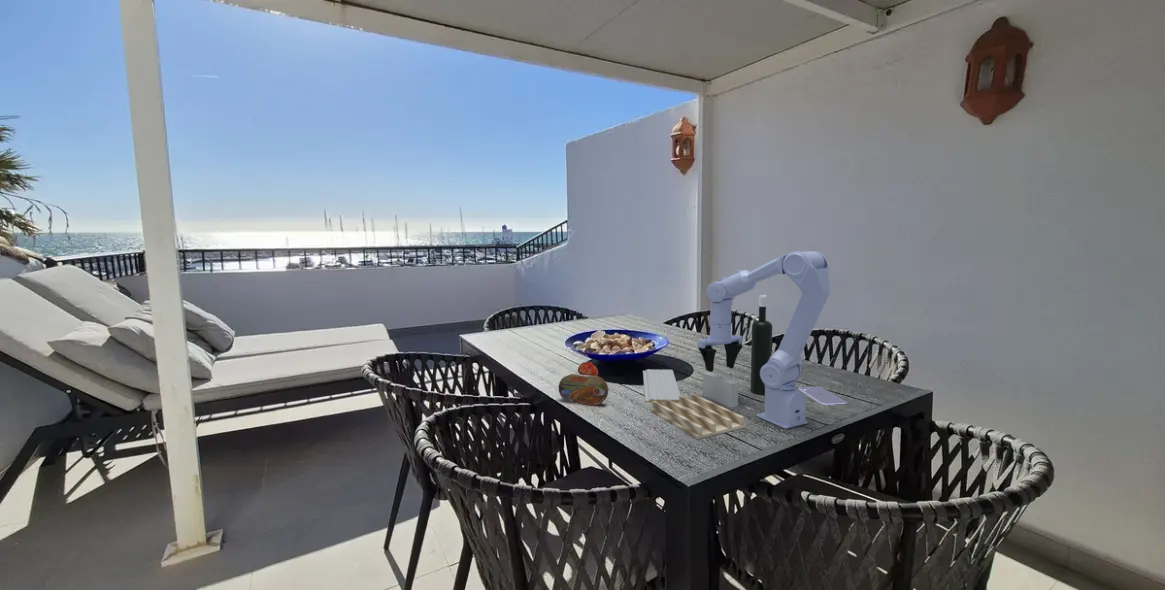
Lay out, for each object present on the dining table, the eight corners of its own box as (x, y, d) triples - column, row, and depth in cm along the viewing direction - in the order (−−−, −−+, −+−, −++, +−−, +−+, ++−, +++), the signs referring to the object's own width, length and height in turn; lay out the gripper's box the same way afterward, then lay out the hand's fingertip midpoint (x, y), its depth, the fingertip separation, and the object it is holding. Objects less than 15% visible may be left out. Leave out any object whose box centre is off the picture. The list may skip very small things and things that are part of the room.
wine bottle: (757, 395, 135) (760, 296, 132) (746, 389, 141) (748, 294, 137) (774, 393, 137) (777, 295, 133) (762, 388, 142) (765, 293, 139)
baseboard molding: (640, 403, 132) (681, 405, 131) (640, 394, 132) (682, 395, 131) (638, 373, 163) (672, 373, 162) (638, 365, 163) (672, 366, 161)
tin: (558, 401, 134) (557, 374, 133) (562, 398, 137) (562, 371, 136) (606, 407, 129) (605, 379, 128) (609, 404, 132) (609, 375, 131)
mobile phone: (822, 403, 127) (796, 386, 142) (822, 406, 127) (796, 389, 142) (849, 402, 127) (820, 385, 142) (849, 405, 127) (820, 388, 142)
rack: (745, 427, 113) (745, 416, 113) (697, 439, 107) (697, 428, 106) (694, 402, 131) (694, 393, 131) (650, 411, 125) (650, 401, 125)
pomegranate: (584, 393, 148) (607, 373, 149) (569, 376, 147) (593, 356, 148) (580, 388, 155) (602, 369, 156) (567, 372, 154) (589, 353, 155)
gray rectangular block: (737, 406, 127) (738, 382, 127) (730, 408, 126) (731, 383, 126) (709, 394, 138) (709, 371, 137) (702, 395, 137) (702, 373, 136)
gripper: (730, 318, 136) (729, 362, 138) (691, 323, 130) (691, 369, 132) (747, 322, 130) (746, 368, 131) (707, 327, 124) (707, 375, 125)
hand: (719, 369), depth 131 cm, fingers open, 7 cm apart
